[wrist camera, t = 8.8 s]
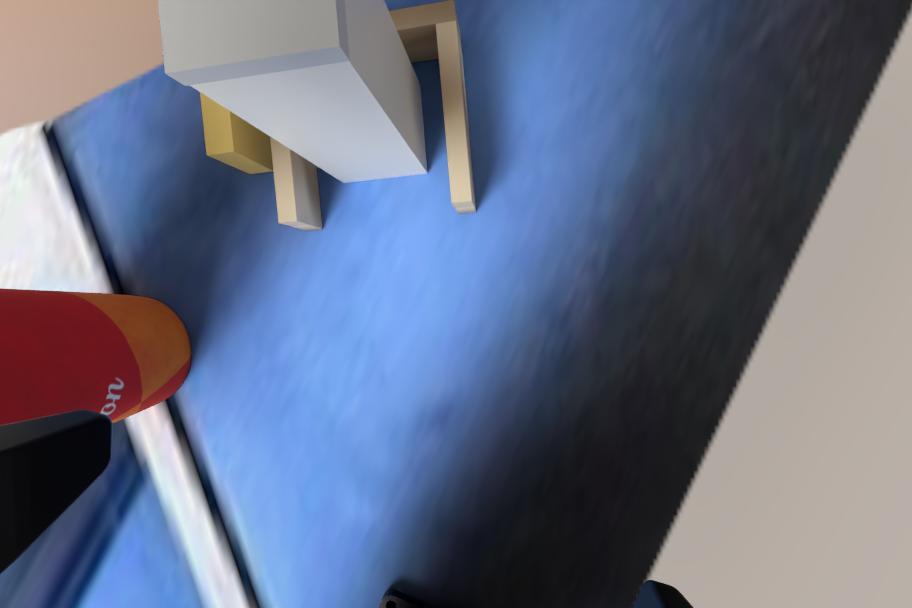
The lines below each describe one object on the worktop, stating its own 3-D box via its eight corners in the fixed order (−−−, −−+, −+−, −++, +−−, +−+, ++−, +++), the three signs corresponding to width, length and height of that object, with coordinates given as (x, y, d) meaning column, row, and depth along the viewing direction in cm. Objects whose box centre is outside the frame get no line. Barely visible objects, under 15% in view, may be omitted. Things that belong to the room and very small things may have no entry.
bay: (476, 211, 19) (471, 200, 17) (306, 230, 20) (278, 223, 18) (460, 36, 19) (454, -1, 17) (290, 64, 20) (259, 33, 18)
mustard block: (273, 171, 20) (233, 151, 17) (250, 174, 21) (206, 155, 18) (267, 107, 20) (225, 76, 17) (243, 111, 20) (198, 81, 17)
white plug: (428, 174, 20) (339, 45, 9) (342, 184, 20) (165, 73, 10) (421, 83, 19) (321, -152, 9) (334, 95, 20) (146, -114, 9)
